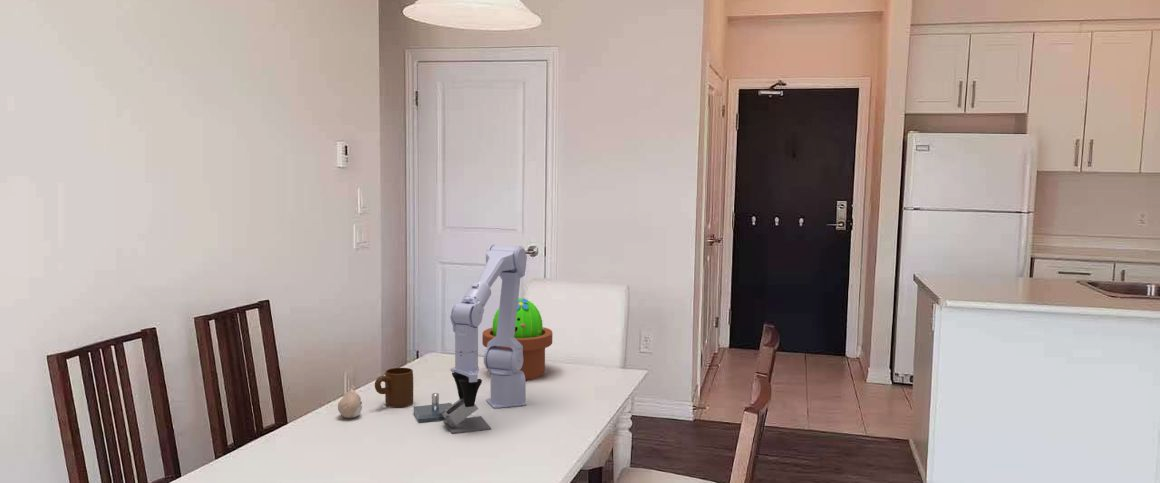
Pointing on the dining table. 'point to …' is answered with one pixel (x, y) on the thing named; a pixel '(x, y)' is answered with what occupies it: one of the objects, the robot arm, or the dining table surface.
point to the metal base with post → (431, 410)
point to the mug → (396, 387)
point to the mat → (469, 425)
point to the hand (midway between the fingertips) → (466, 403)
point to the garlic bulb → (350, 404)
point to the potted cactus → (526, 338)
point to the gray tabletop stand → (457, 412)
